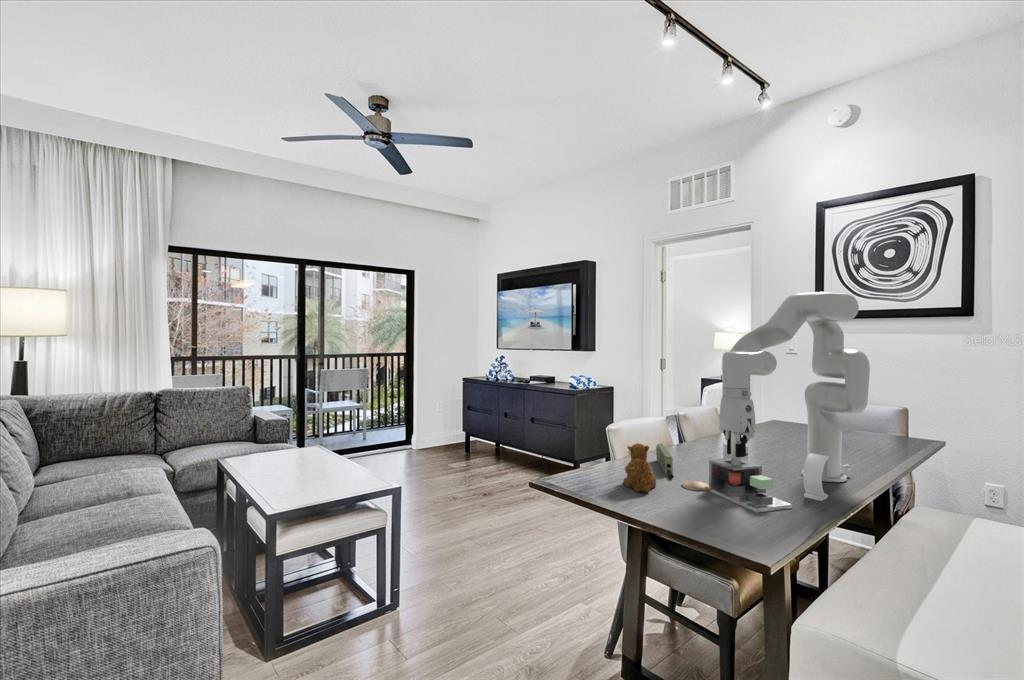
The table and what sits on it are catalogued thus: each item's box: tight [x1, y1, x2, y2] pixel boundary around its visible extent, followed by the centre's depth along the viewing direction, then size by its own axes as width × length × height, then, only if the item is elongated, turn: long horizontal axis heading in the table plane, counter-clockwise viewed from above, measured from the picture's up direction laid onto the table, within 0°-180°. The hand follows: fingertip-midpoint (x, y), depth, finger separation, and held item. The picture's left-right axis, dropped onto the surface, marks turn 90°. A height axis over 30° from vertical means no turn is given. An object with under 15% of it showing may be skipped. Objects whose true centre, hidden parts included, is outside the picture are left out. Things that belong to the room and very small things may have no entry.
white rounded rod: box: [731, 432, 741, 465], centre depth 144 cm, size 3×3×12 cm
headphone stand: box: [802, 453, 829, 502], centre depth 141 cm, size 5×6×12 cm
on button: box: [750, 475, 774, 494], centre depth 135 cm, size 4×4×4 cm
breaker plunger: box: [728, 471, 741, 486], centre depth 144 cm, size 3×3×4 cm
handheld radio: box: [655, 443, 675, 480], centre depth 170 cm, size 7×3×25 cm
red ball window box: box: [705, 458, 793, 514], centre depth 140 cm, size 12×20×9 cm, turn 17°
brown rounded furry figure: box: [622, 442, 657, 493], centre depth 149 cm, size 10×14×13 cm
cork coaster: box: [681, 480, 709, 492], centre depth 150 cm, size 8×8×1 cm
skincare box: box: [722, 442, 749, 461], centre depth 177 cm, size 6×6×7 cm
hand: (736, 454), depth 144 cm, fingers closed on white rounded rod, 2 cm apart
